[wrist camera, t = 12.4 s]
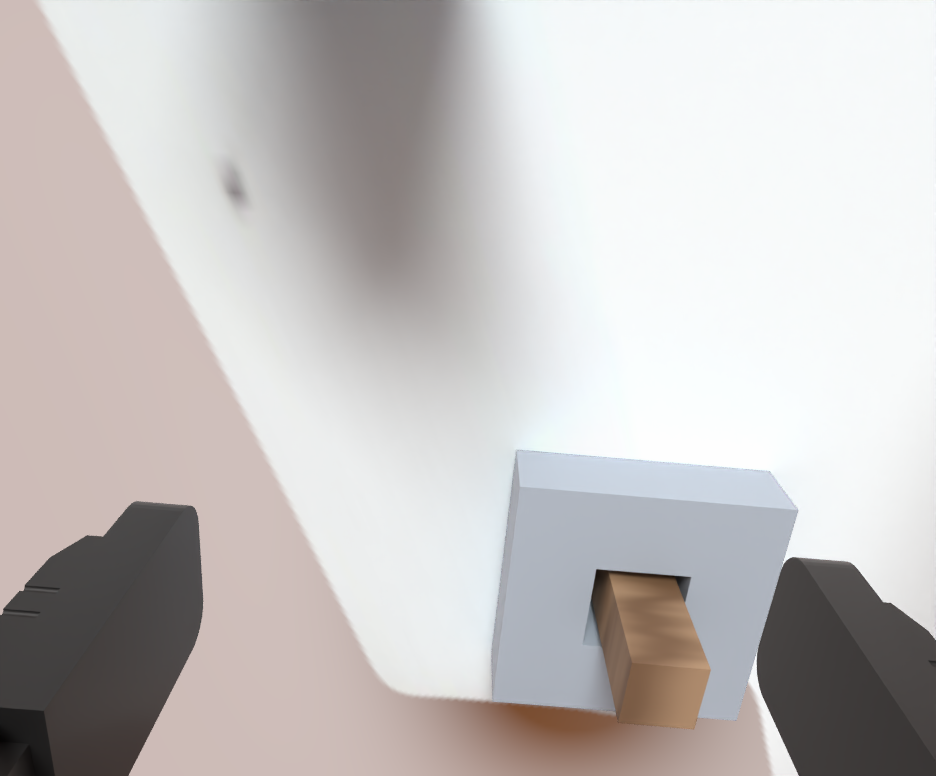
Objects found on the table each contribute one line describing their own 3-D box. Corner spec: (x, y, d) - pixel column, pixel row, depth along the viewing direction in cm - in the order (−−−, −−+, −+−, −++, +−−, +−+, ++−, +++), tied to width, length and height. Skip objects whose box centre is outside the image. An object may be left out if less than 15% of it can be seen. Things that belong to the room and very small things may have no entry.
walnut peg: (661, 543, 43) (711, 669, 34) (649, 594, 44) (694, 729, 35) (599, 537, 43) (632, 662, 34) (589, 588, 44) (618, 722, 35)
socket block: (769, 471, 41) (798, 509, 37) (716, 669, 46) (736, 720, 43) (516, 449, 41) (520, 486, 37) (491, 651, 46) (492, 701, 42)
